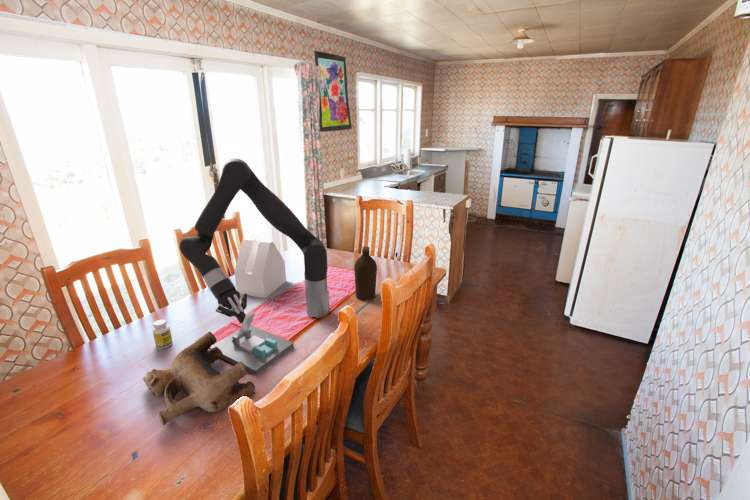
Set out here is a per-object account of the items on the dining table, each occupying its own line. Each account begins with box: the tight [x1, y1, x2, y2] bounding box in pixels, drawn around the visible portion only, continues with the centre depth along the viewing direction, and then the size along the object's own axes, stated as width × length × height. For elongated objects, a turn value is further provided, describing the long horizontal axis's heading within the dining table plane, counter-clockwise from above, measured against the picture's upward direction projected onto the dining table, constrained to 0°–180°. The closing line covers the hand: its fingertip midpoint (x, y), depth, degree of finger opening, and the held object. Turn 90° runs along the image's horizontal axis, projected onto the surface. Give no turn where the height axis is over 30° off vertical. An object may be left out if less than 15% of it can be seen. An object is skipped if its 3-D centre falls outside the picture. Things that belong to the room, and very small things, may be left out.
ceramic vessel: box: [142, 331, 256, 426], centre depth 109 cm, size 13×31×25 cm
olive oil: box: [353, 246, 378, 301], centre depth 166 cm, size 11×11×25 cm
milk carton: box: [233, 237, 287, 299], centre depth 174 cm, size 19×15×25 cm
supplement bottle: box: [152, 319, 173, 350], centre depth 131 cm, size 5×5×10 cm
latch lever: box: [238, 311, 256, 339], centre depth 129 cm, size 3×1×13 cm
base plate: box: [208, 324, 294, 376], centre depth 130 cm, size 18×24×6 cm
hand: (245, 322), depth 128 cm, fingers closed
